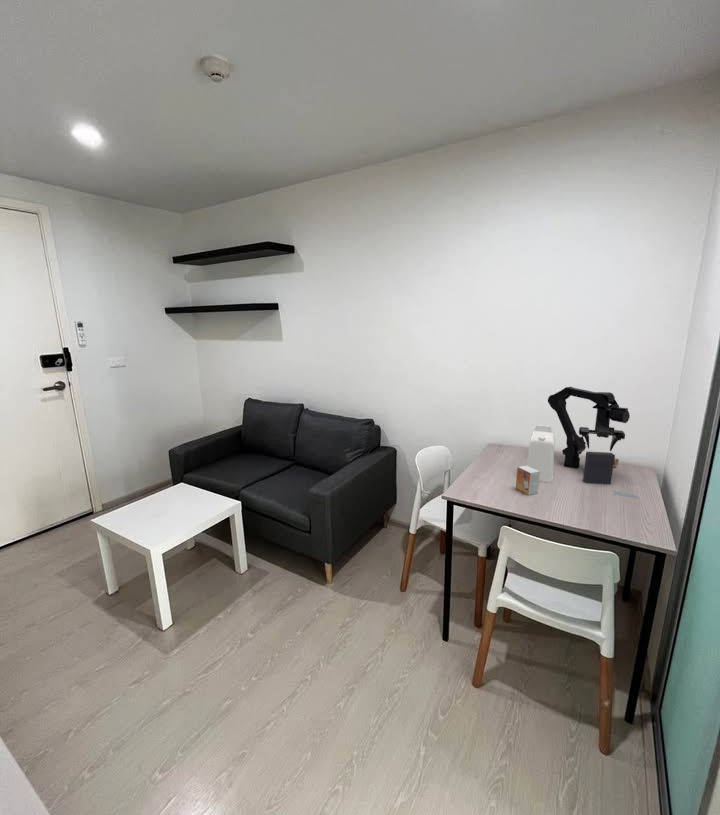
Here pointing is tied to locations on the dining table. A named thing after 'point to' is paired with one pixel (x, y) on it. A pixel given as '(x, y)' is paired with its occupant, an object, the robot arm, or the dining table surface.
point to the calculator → (598, 467)
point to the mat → (624, 494)
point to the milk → (542, 452)
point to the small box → (527, 480)
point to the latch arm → (616, 462)
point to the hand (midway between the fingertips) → (599, 449)
